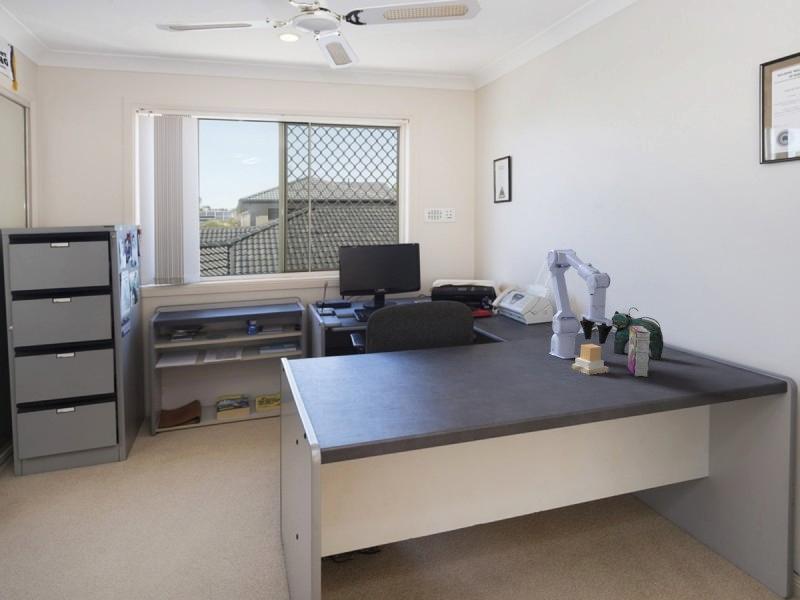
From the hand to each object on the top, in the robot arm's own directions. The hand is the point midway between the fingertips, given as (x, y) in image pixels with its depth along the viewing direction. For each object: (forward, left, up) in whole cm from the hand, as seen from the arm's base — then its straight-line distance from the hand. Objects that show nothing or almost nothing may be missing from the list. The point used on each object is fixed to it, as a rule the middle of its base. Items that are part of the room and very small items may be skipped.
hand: (594, 341), depth 196 cm
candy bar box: (+11, +11, -11) cm, 18 cm away
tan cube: (+2, -4, -6) cm, 7 cm away
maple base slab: (+2, -3, -11) cm, 12 cm away
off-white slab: (+2, -4, -9) cm, 9 cm away
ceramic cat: (-8, +30, -11) cm, 33 cm away
